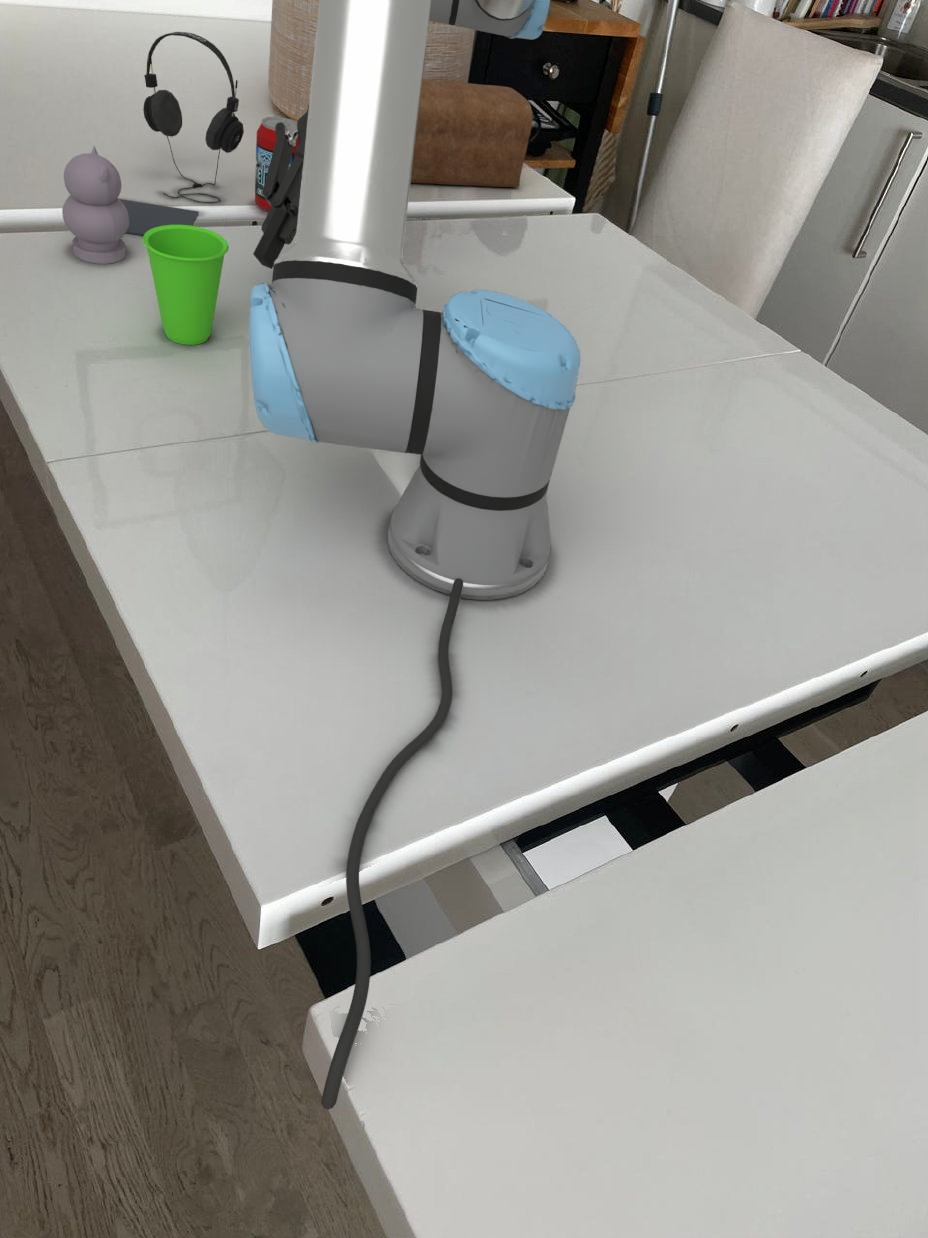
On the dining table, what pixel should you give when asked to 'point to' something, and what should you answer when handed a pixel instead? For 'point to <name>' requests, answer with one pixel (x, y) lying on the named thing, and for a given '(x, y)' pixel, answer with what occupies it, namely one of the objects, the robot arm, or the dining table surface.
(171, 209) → the placemat
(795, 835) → the dining table surface
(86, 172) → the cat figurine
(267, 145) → the beverage can
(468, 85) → the bread
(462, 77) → the planter
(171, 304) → the cup
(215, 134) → the headphones
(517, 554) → the robot arm
